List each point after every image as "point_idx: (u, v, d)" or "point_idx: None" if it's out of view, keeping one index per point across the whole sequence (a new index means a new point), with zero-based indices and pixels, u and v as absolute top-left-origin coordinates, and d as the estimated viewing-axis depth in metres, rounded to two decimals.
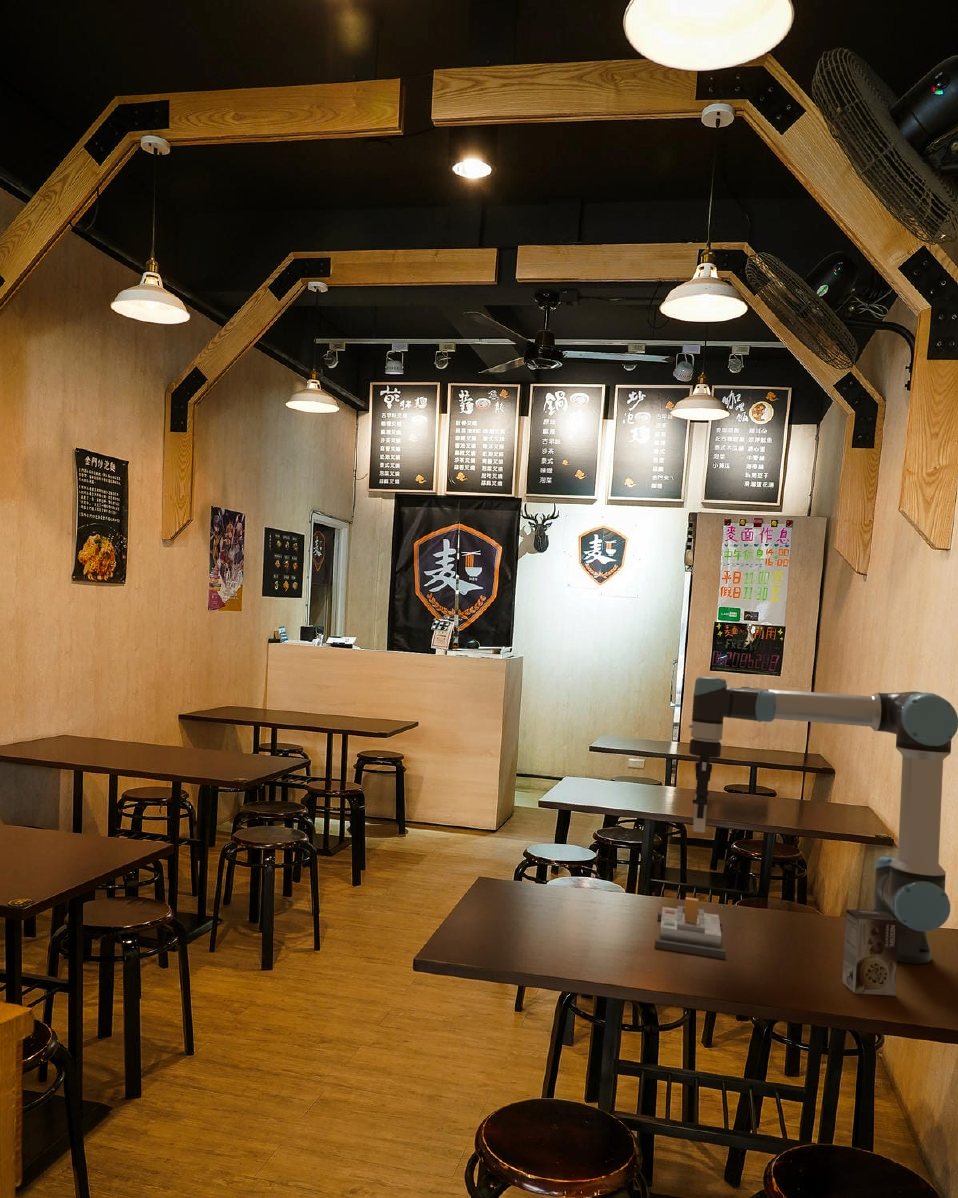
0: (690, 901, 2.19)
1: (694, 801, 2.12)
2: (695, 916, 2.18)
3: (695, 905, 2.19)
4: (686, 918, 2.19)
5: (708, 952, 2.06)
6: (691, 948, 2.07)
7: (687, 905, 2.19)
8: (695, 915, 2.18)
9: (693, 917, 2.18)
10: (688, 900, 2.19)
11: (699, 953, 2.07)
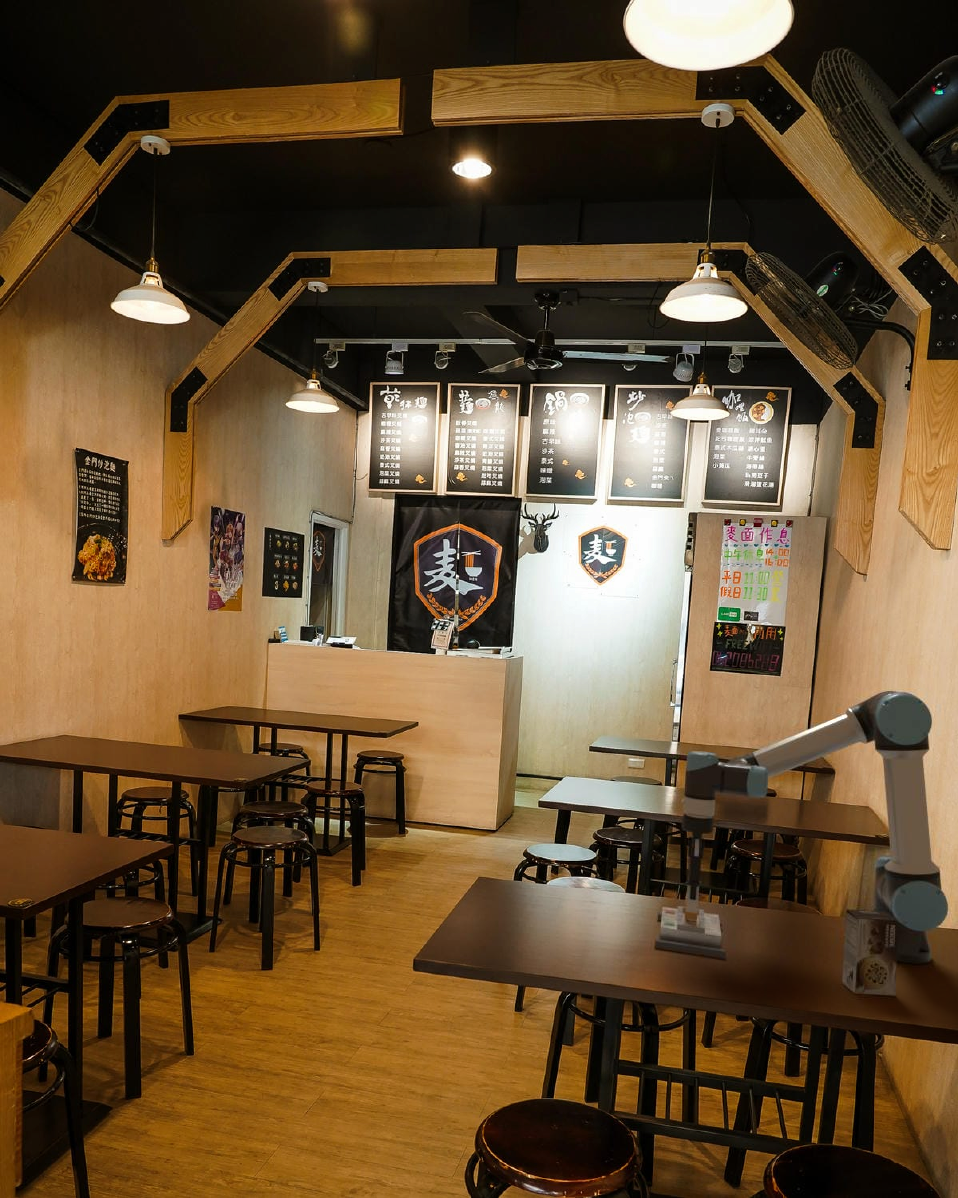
0: None
1: (687, 884, 2.18)
2: (695, 915, 2.20)
3: None
4: (686, 917, 2.20)
5: (708, 952, 2.06)
6: (691, 948, 2.07)
7: None
8: (695, 914, 2.20)
9: (693, 916, 2.20)
10: None
11: (699, 953, 2.07)
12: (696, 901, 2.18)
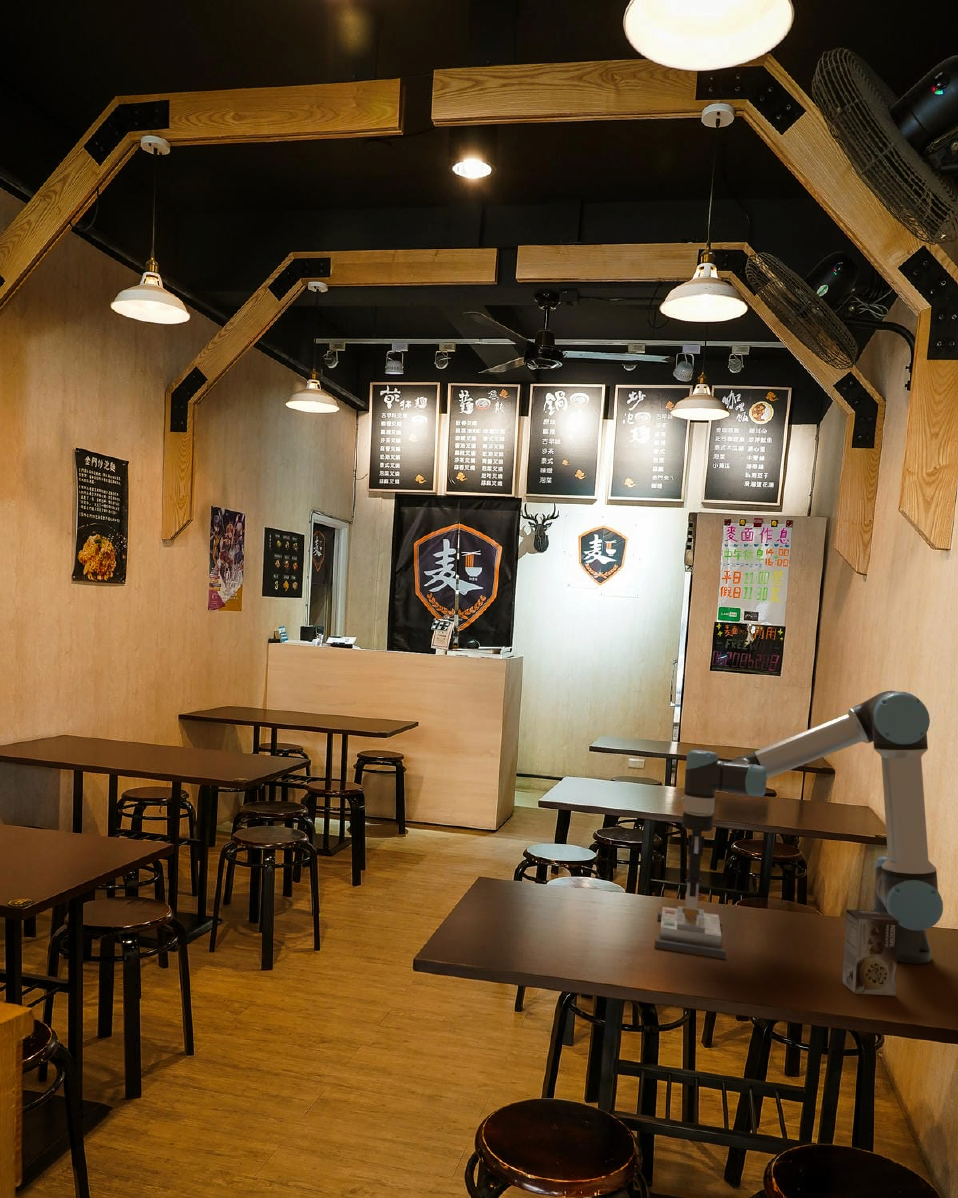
0: None
1: (686, 881, 2.21)
2: (695, 911, 2.22)
3: None
4: (686, 913, 2.23)
5: (708, 952, 2.06)
6: (691, 948, 2.07)
7: None
8: (695, 910, 2.22)
9: (693, 912, 2.23)
10: None
11: (699, 953, 2.07)
12: (696, 898, 2.21)
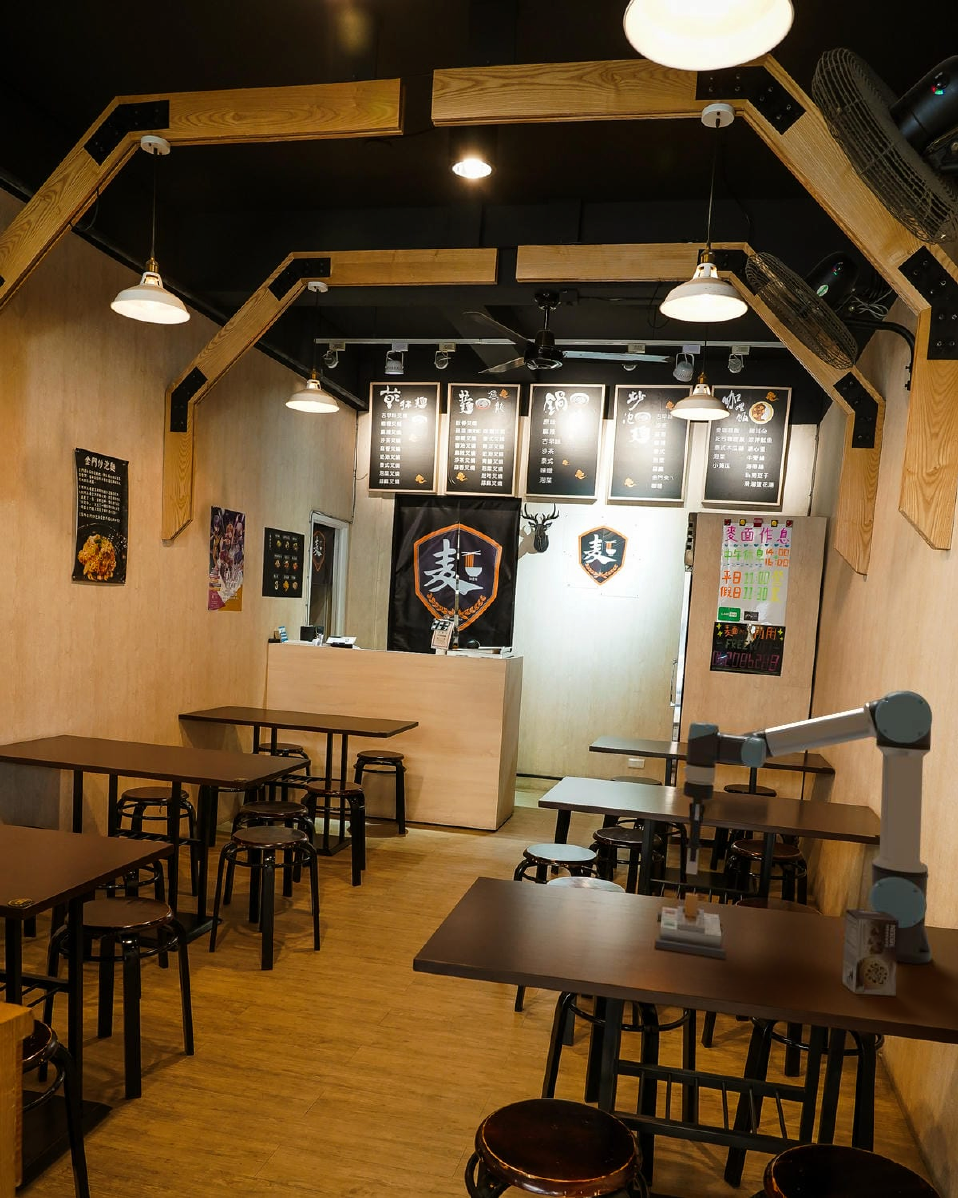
0: (690, 897, 2.23)
1: (687, 847, 2.31)
2: (695, 911, 2.22)
3: (695, 901, 2.23)
4: (686, 913, 2.23)
5: (708, 952, 2.06)
6: (691, 948, 2.07)
7: (687, 900, 2.23)
8: (695, 910, 2.22)
9: (693, 912, 2.23)
10: (688, 896, 2.23)
11: (699, 953, 2.07)
12: (696, 863, 2.31)
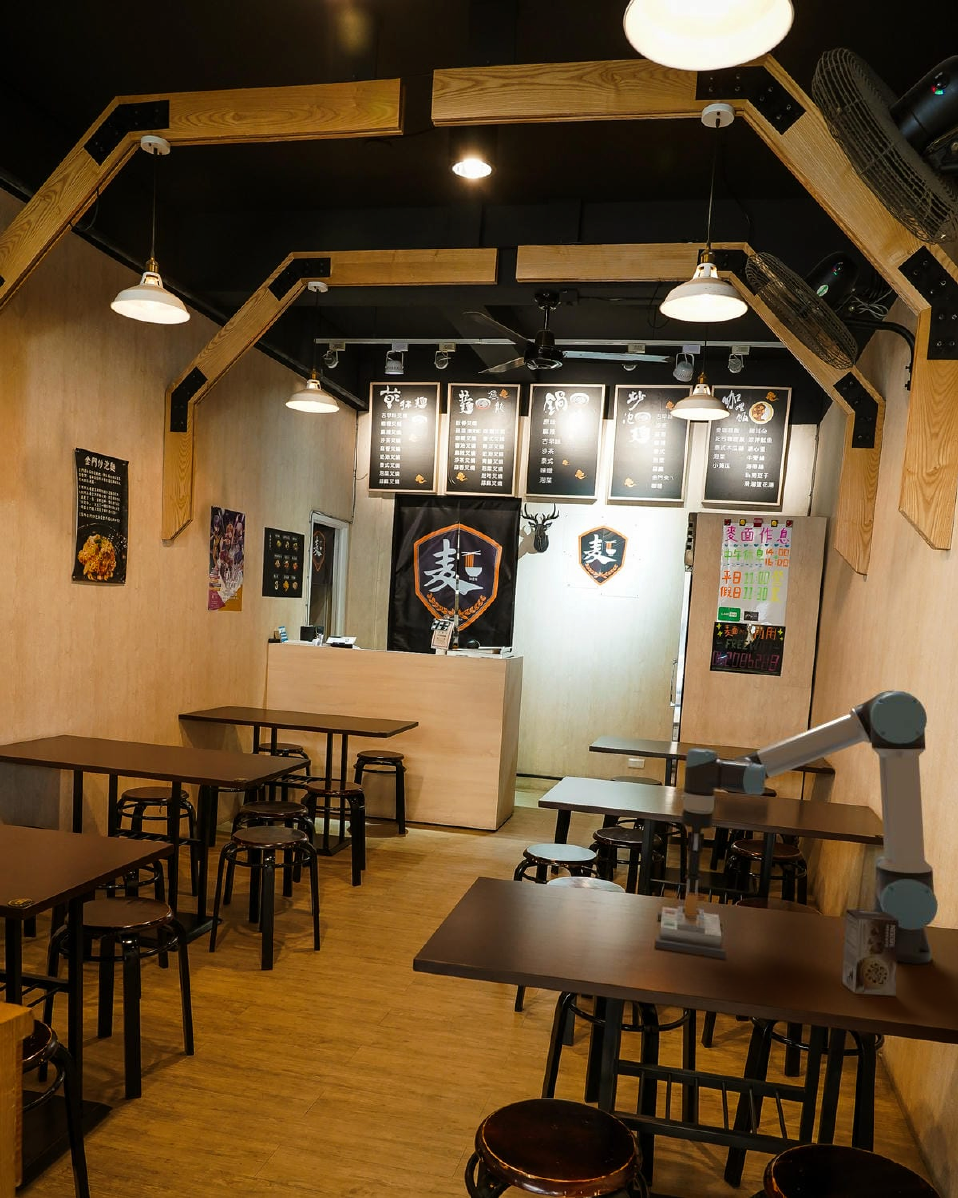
0: (690, 897, 2.23)
1: (686, 878, 2.24)
2: (695, 912, 2.22)
3: (695, 901, 2.22)
4: (686, 914, 2.23)
5: (708, 952, 2.06)
6: (691, 948, 2.07)
7: (687, 901, 2.23)
8: (695, 911, 2.22)
9: (693, 913, 2.22)
10: (688, 896, 2.23)
11: (699, 953, 2.07)
12: None
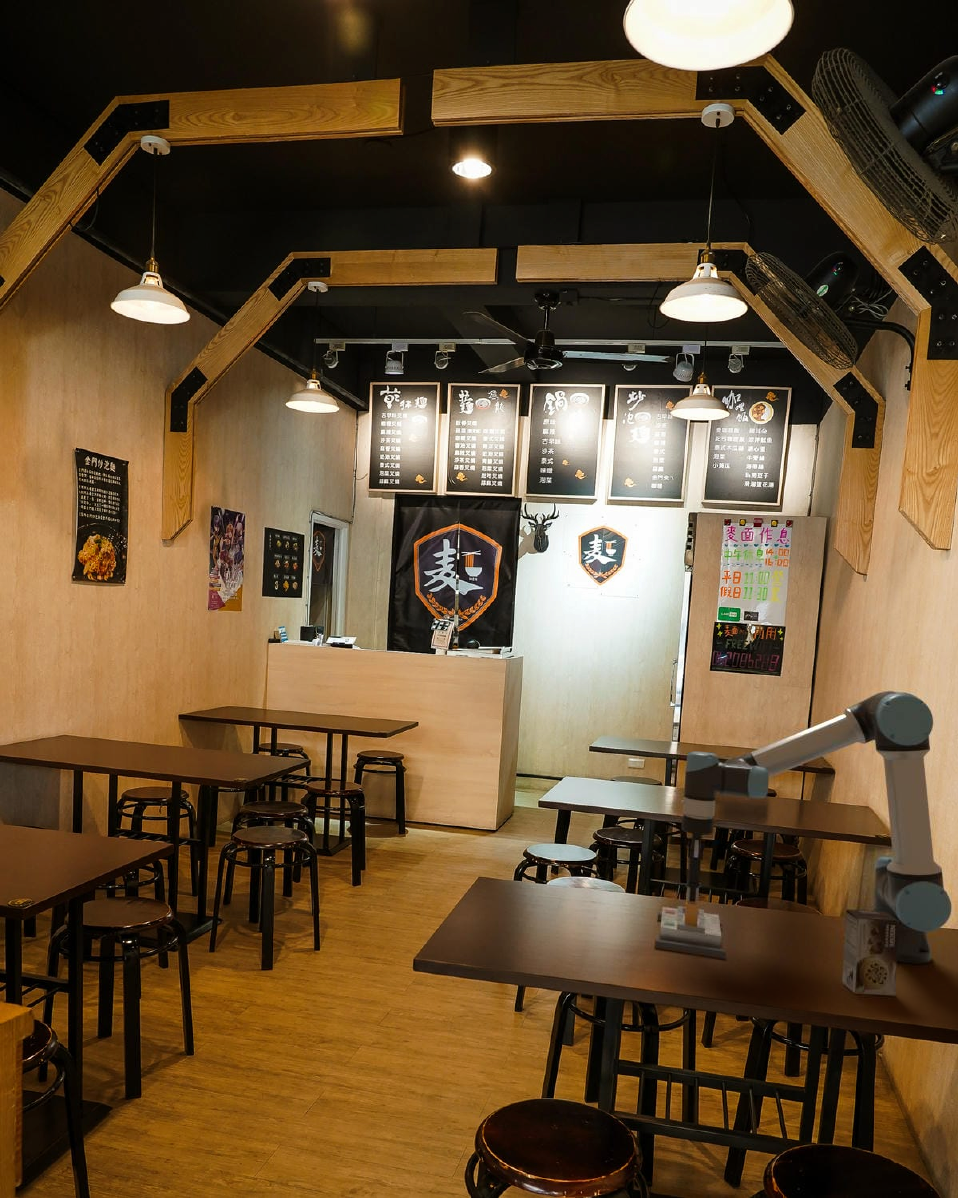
0: (690, 906, 2.15)
1: (686, 886, 2.16)
2: (695, 921, 2.14)
3: (695, 910, 2.15)
4: (686, 923, 2.15)
5: (708, 952, 2.06)
6: (691, 948, 2.07)
7: (687, 909, 2.15)
8: (695, 920, 2.14)
9: (693, 922, 2.14)
10: (688, 904, 2.15)
11: (699, 953, 2.07)
12: None
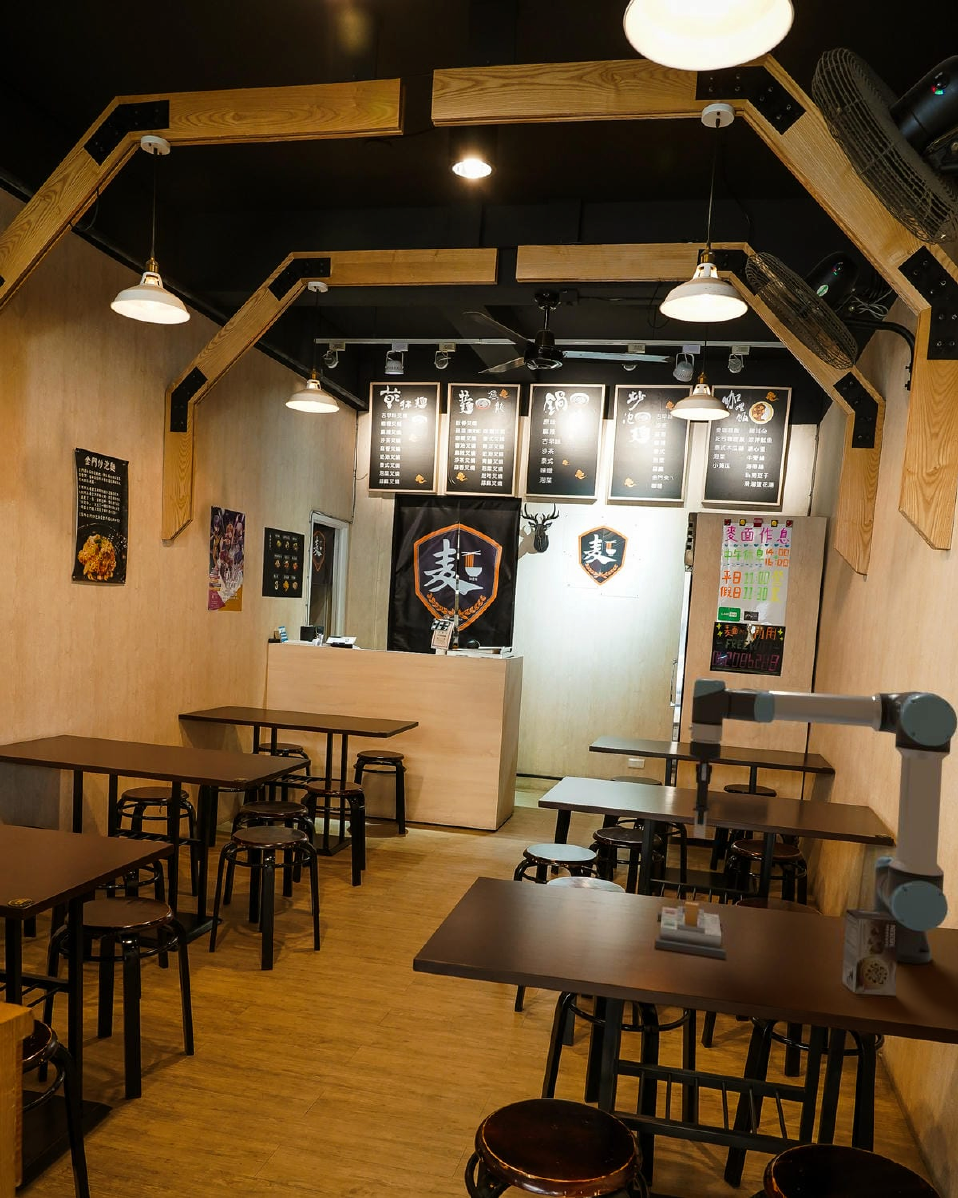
0: (690, 906, 2.15)
1: (694, 809, 2.19)
2: (695, 921, 2.14)
3: (695, 910, 2.14)
4: (686, 923, 2.15)
5: (708, 952, 2.06)
6: (691, 948, 2.07)
7: (687, 910, 2.15)
8: (695, 920, 2.14)
9: (693, 922, 2.14)
10: (688, 905, 2.15)
11: (699, 953, 2.07)
12: (704, 826, 2.19)
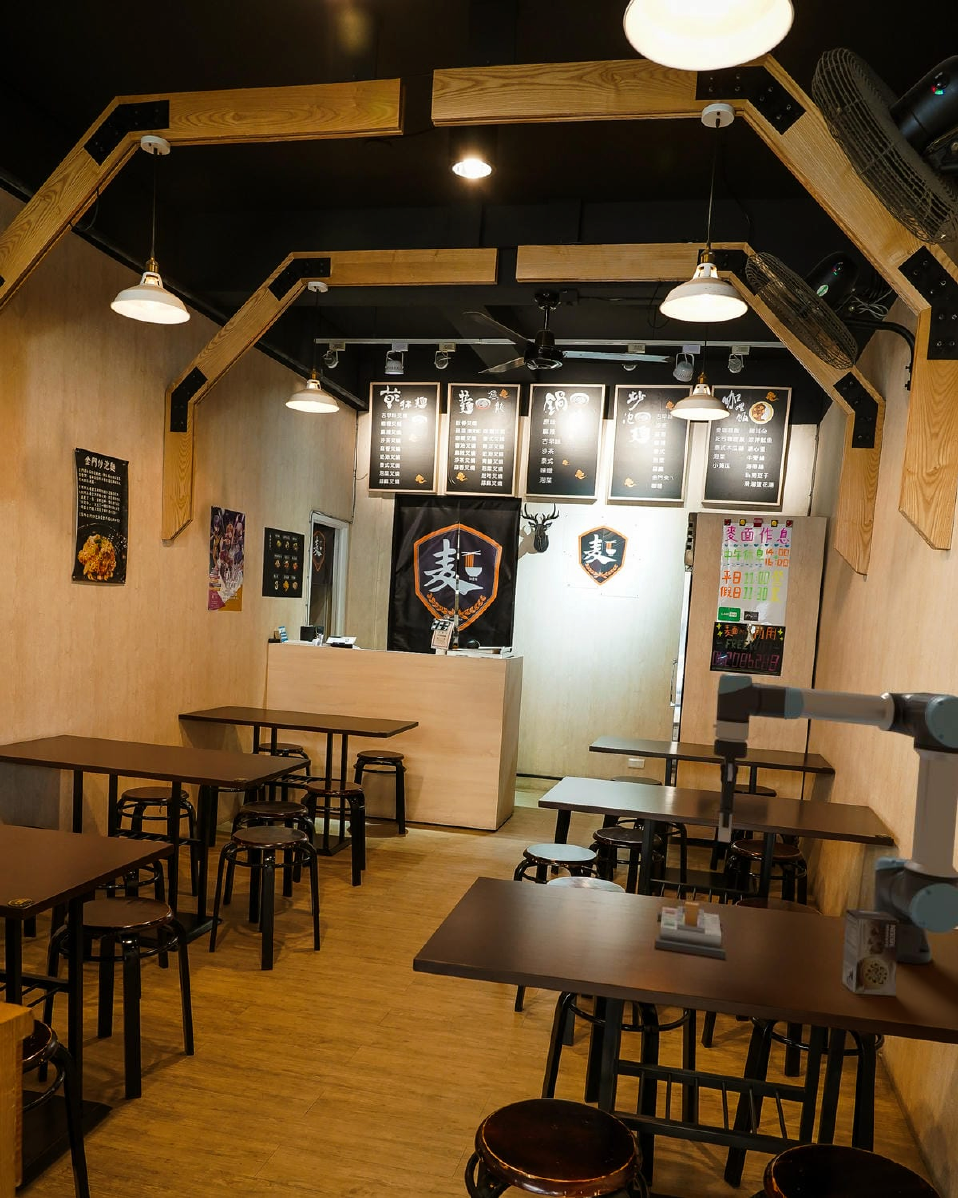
0: (690, 906, 2.15)
1: (719, 812, 2.08)
2: (695, 921, 2.14)
3: (695, 910, 2.14)
4: (686, 923, 2.15)
5: (708, 952, 2.06)
6: (691, 948, 2.07)
7: (687, 910, 2.15)
8: (695, 920, 2.14)
9: (693, 922, 2.14)
10: (688, 905, 2.15)
11: (699, 953, 2.07)
12: (729, 829, 2.08)
